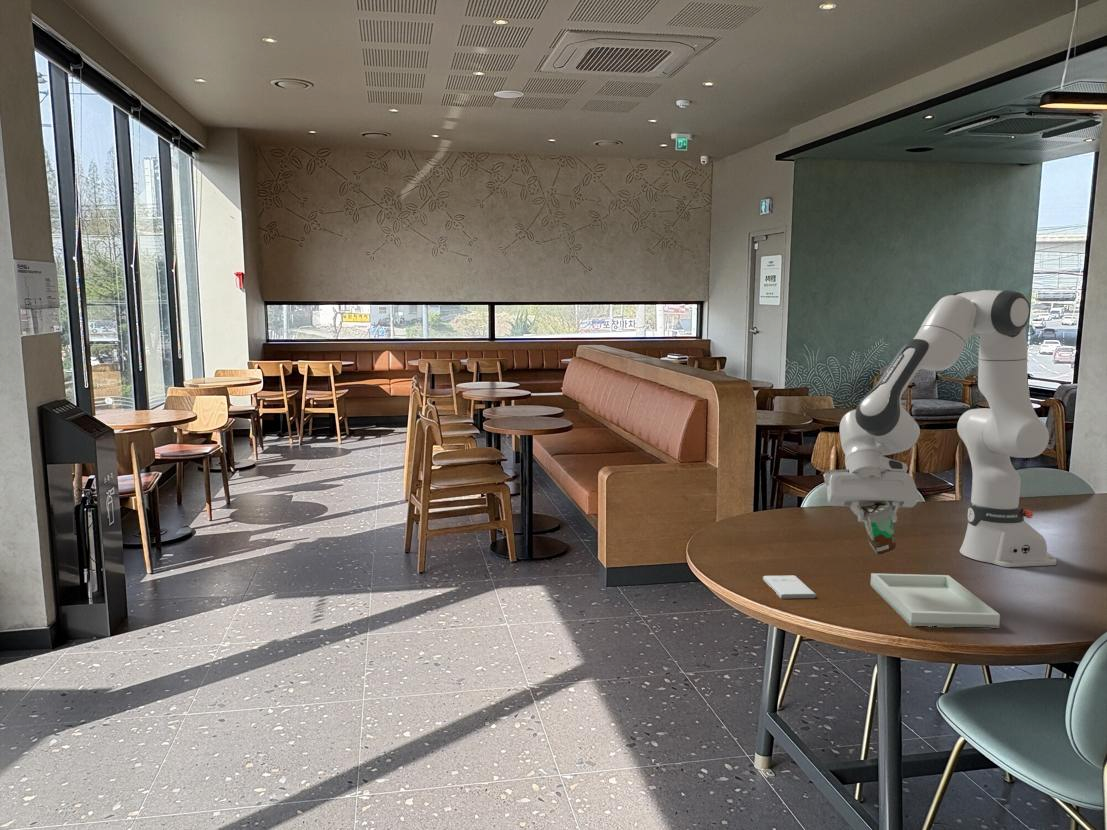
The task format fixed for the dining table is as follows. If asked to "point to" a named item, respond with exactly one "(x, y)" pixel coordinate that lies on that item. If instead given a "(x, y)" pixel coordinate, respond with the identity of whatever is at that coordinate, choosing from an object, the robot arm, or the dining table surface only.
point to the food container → (880, 527)
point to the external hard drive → (789, 587)
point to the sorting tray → (933, 601)
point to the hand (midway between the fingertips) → (877, 521)
